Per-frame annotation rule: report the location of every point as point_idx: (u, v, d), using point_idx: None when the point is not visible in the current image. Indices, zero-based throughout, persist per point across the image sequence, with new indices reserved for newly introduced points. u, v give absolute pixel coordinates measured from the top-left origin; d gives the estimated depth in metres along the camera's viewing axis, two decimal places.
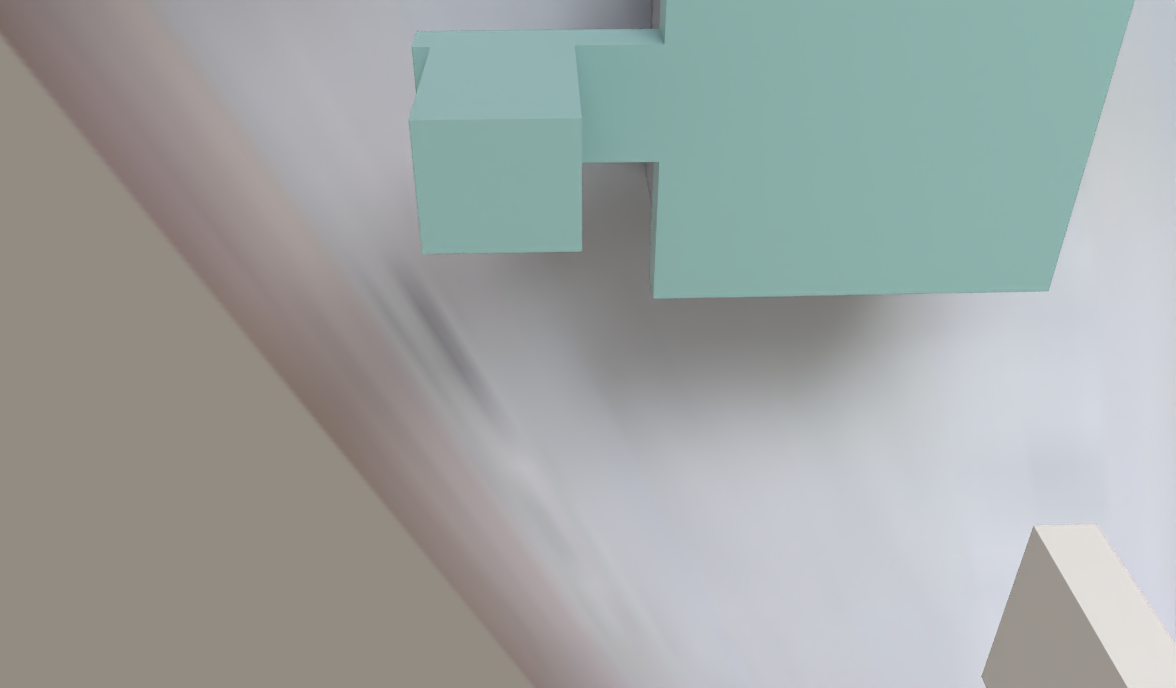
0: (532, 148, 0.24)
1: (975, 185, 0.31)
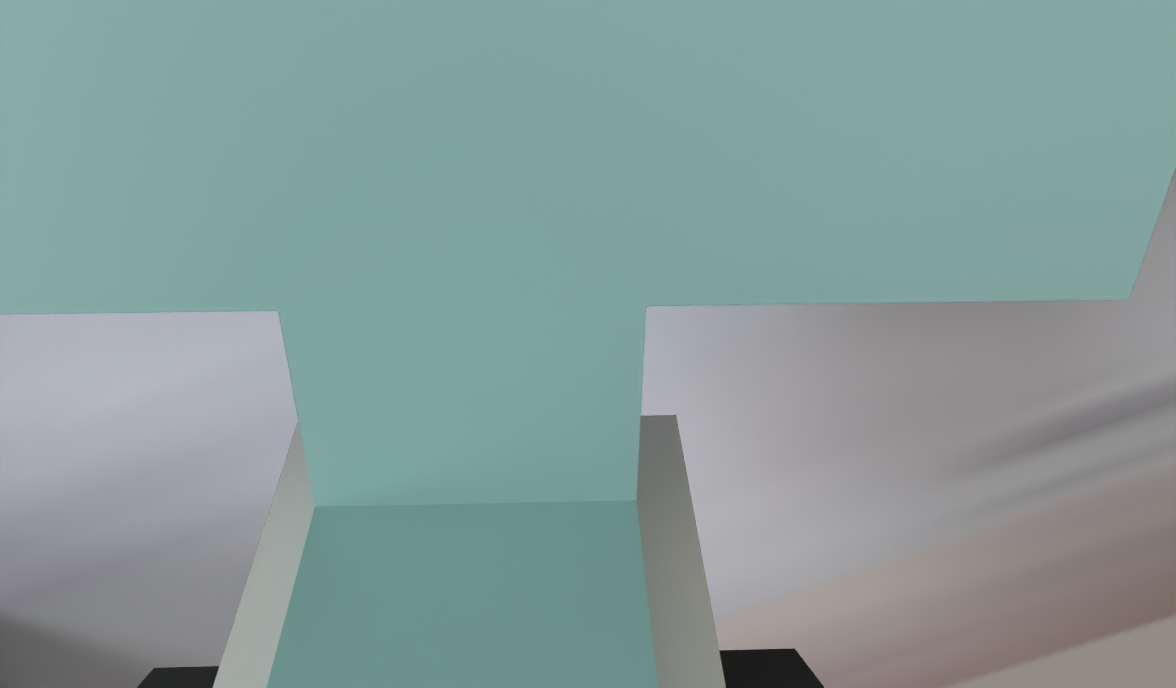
0: None
1: None
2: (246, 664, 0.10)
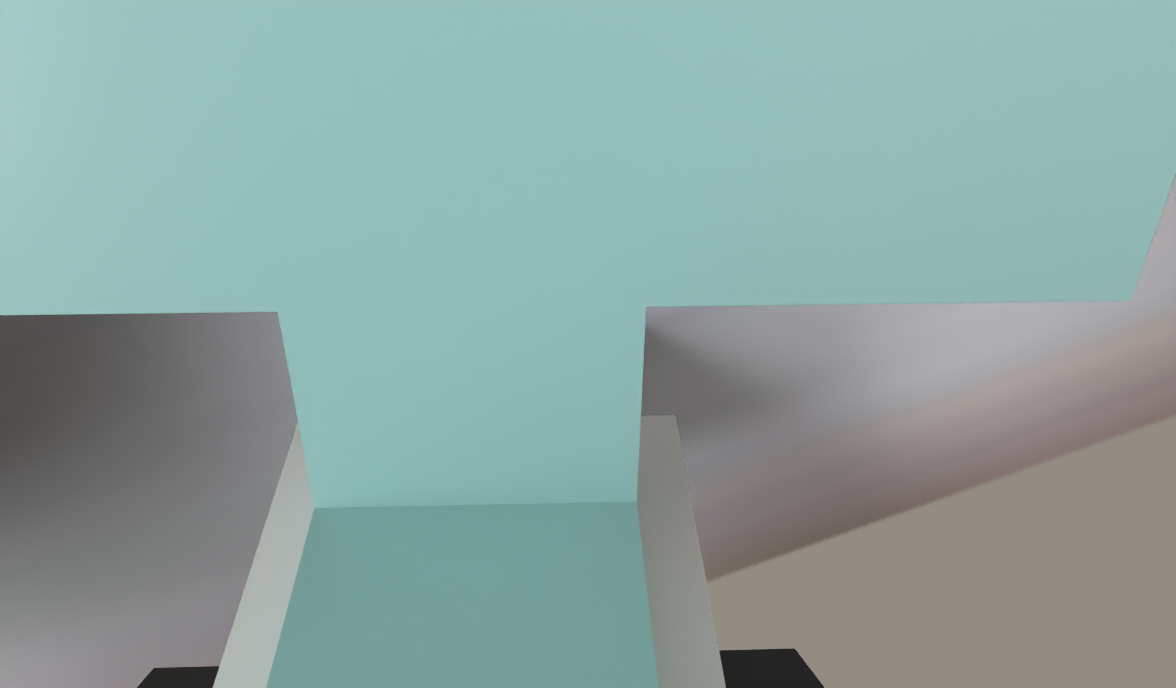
0: None
1: None
2: (247, 664, 0.10)
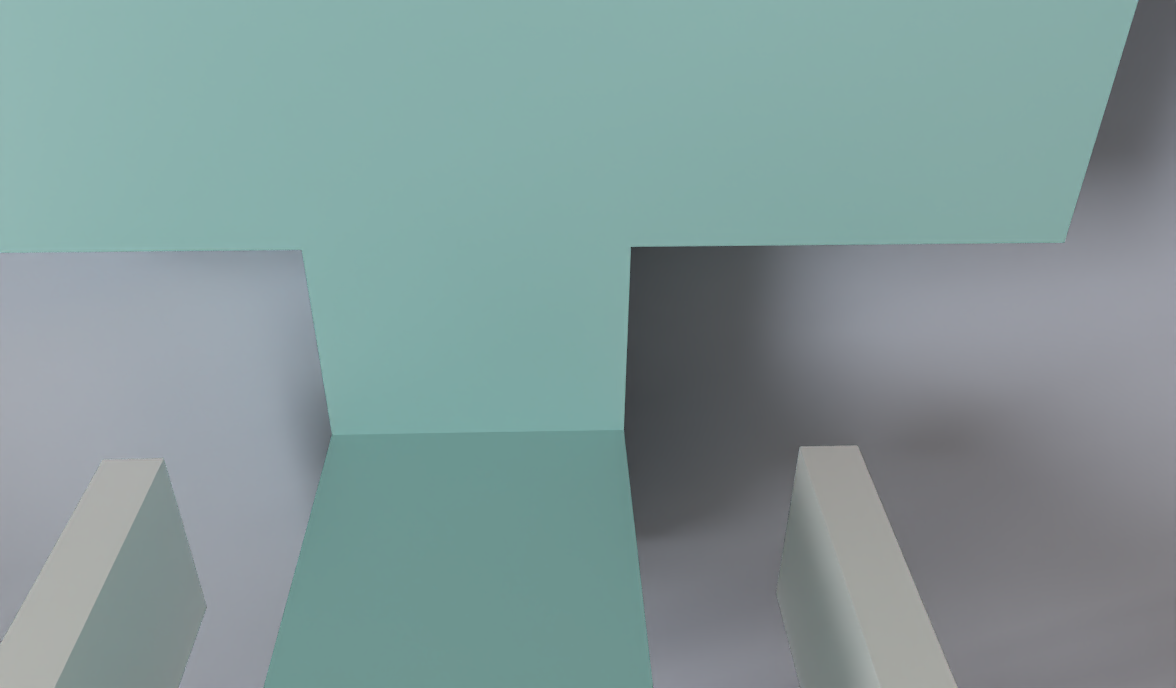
0: None
1: None
2: None
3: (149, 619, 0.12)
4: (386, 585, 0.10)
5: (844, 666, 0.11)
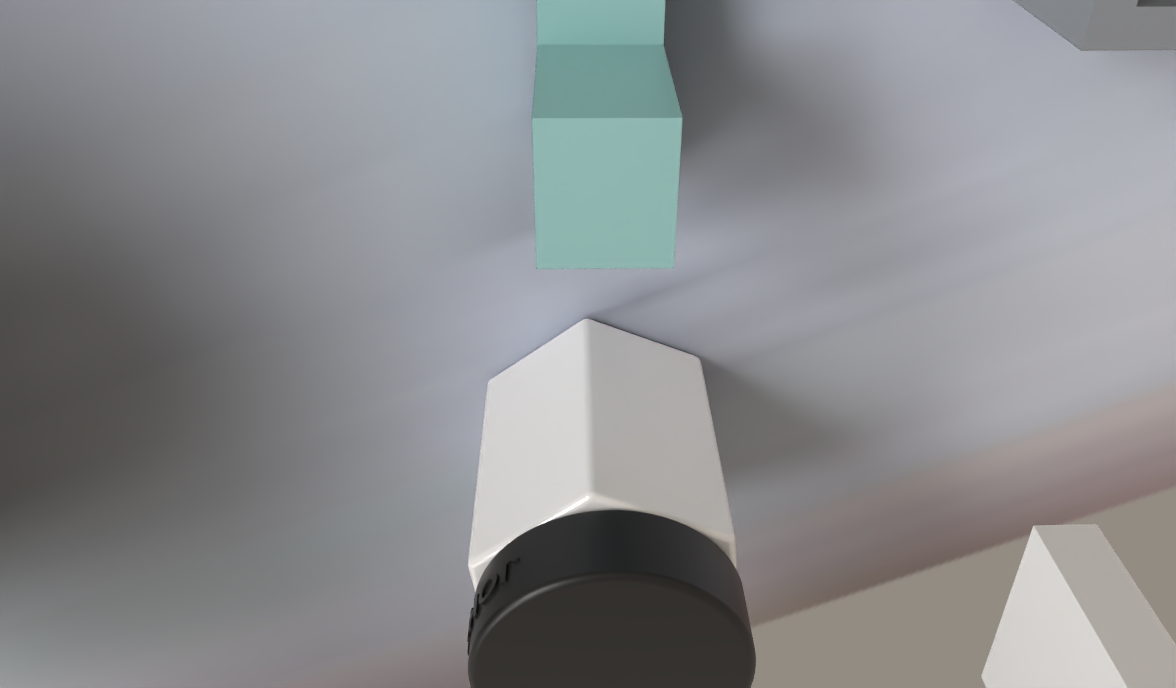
0: (564, 164, 0.24)
1: None
2: None
3: None
4: (571, 74, 0.26)
5: None
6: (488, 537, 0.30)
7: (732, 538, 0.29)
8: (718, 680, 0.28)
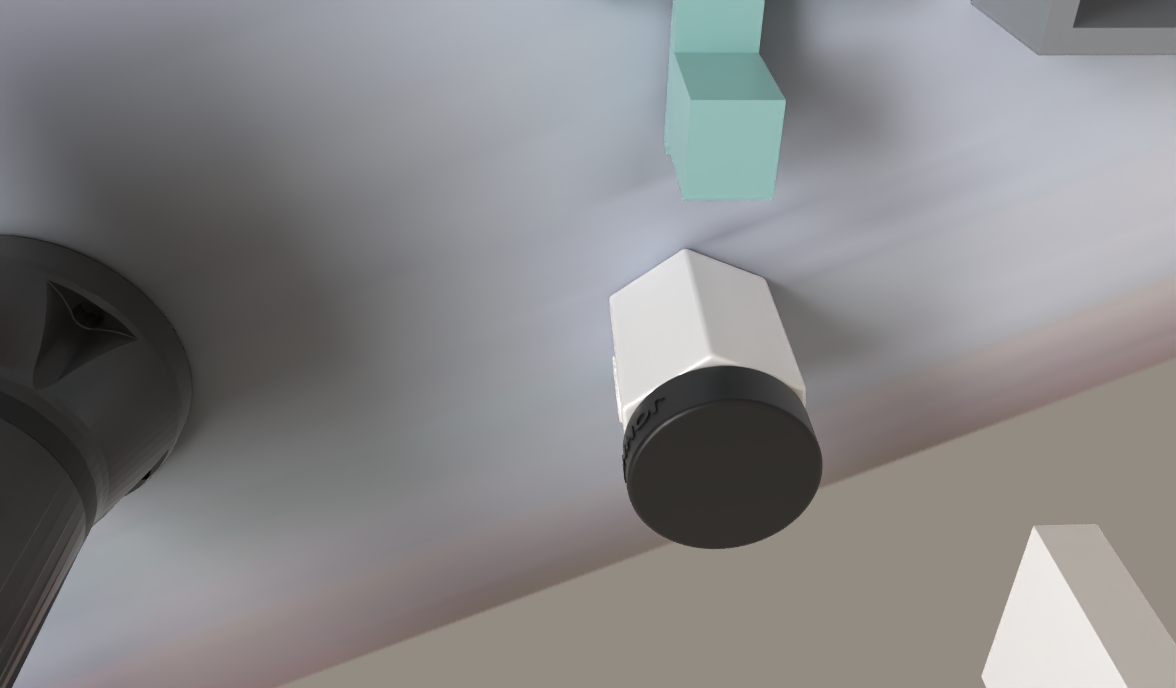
0: (708, 130, 0.37)
1: None
2: None
3: None
4: (704, 72, 0.39)
5: None
6: (634, 390, 0.43)
7: (804, 388, 0.42)
8: (796, 482, 0.42)
